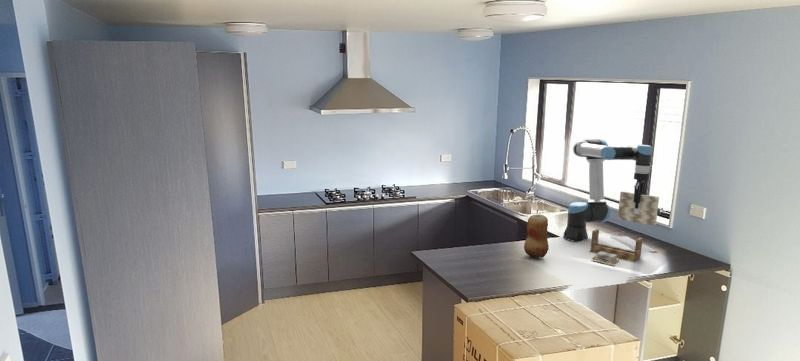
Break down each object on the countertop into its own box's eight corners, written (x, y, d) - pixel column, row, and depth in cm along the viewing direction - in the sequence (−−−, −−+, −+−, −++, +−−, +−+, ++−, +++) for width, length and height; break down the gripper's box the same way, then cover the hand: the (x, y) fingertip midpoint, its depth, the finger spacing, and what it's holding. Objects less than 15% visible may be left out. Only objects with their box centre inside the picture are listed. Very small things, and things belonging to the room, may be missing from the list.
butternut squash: (518, 257, 289) (521, 214, 285) (530, 252, 299) (533, 211, 295) (541, 263, 280) (544, 219, 276) (552, 257, 290) (555, 215, 285)
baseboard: (638, 253, 303) (657, 253, 305) (639, 249, 302) (657, 248, 305) (609, 238, 333) (626, 238, 335) (610, 234, 332) (626, 234, 334)
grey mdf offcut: (596, 257, 284) (596, 253, 284) (600, 255, 289) (600, 251, 288) (612, 261, 279) (613, 257, 278) (616, 259, 283) (617, 254, 283)
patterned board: (617, 218, 295) (620, 192, 292) (619, 218, 297) (621, 191, 294) (654, 225, 282) (657, 197, 279) (655, 224, 284) (659, 196, 281)
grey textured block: (592, 262, 285) (592, 257, 285) (597, 259, 291) (597, 254, 290) (614, 267, 278) (614, 262, 277) (618, 264, 283) (619, 259, 282)
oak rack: (588, 254, 298) (590, 231, 296) (596, 249, 307) (598, 228, 305) (634, 264, 281) (637, 241, 279) (641, 259, 290) (644, 237, 288)
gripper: (644, 175, 276) (639, 216, 281) (653, 172, 288) (648, 212, 292) (630, 173, 281) (625, 214, 286) (639, 170, 293) (634, 210, 297)
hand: (637, 213), depth 289 cm, fingers closed on patterned board, 2 cm apart
